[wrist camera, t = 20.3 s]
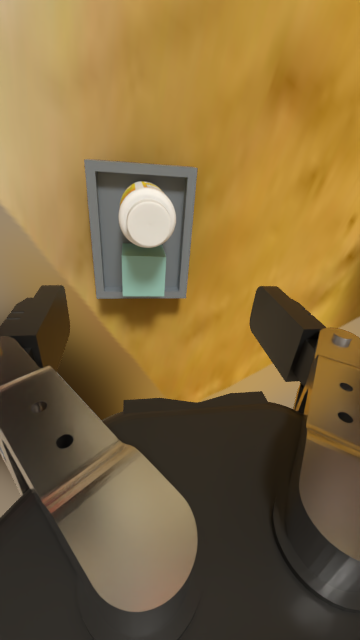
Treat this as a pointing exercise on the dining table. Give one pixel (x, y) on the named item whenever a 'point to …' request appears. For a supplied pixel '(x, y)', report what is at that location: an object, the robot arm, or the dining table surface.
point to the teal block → (143, 270)
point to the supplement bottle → (146, 215)
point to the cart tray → (106, 233)
